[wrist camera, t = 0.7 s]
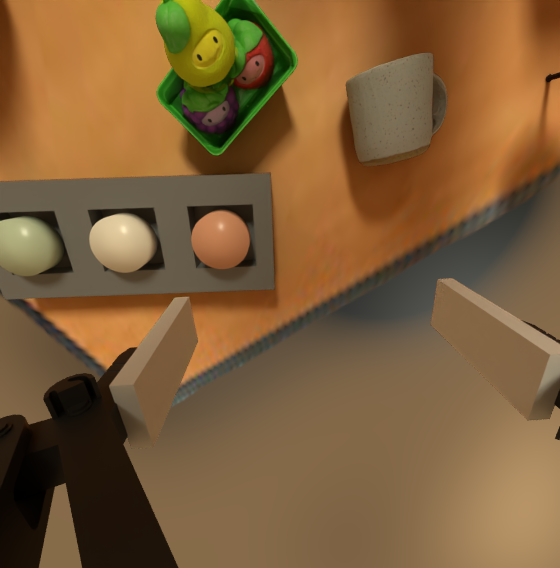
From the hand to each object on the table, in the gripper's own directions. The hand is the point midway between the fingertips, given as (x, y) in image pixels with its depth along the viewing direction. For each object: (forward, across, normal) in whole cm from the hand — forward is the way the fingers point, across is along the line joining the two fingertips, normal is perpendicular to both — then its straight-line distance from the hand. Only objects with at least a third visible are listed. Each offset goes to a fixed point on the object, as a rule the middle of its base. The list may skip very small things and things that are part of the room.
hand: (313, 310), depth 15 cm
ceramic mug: (+22, +12, +12) cm, 28 cm away
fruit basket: (+22, -6, +15) cm, 28 cm away
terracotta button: (+19, -8, 0) cm, 20 cm away
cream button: (+19, -18, +1) cm, 26 cm away
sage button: (+19, -29, +1) cm, 34 cm away
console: (+22, -18, +1) cm, 29 cm away
